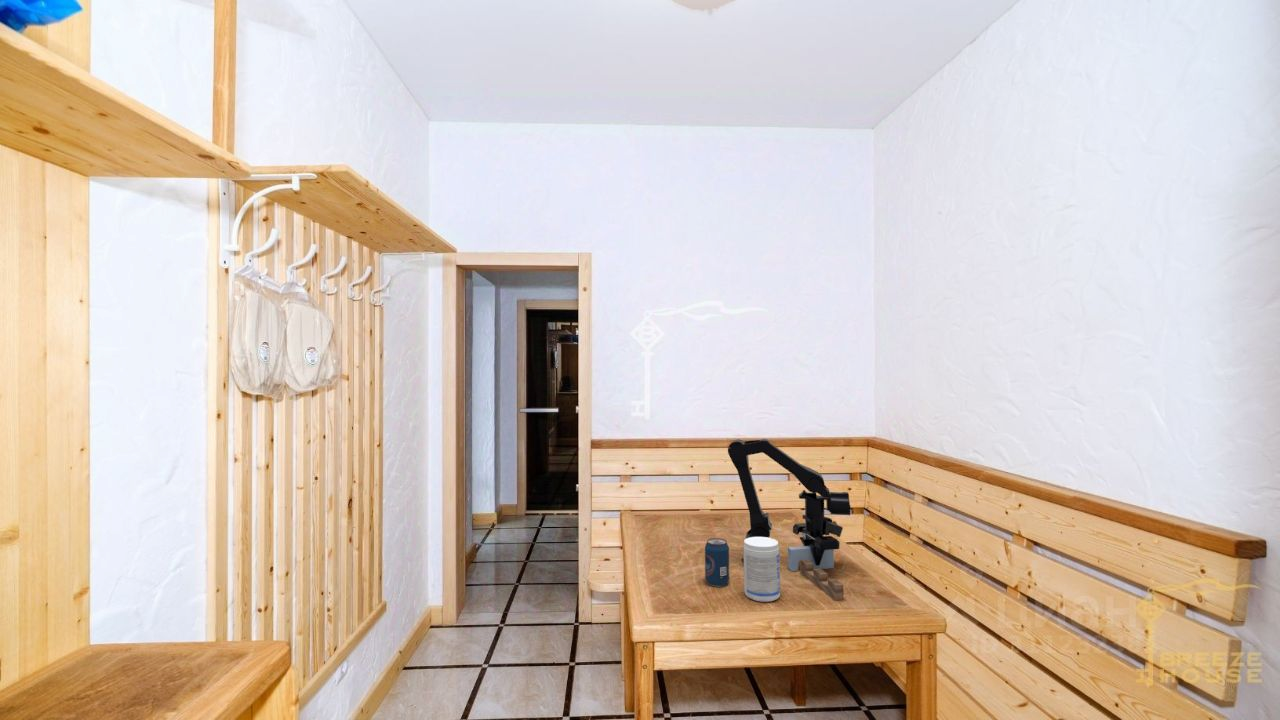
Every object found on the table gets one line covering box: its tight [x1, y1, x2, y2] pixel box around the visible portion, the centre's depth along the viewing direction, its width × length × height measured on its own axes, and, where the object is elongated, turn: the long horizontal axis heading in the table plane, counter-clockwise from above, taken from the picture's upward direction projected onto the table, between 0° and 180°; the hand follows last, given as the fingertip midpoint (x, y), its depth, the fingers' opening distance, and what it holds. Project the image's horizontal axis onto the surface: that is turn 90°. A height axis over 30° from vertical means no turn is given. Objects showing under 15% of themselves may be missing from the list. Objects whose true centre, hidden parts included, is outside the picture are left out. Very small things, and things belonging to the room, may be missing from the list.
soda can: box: [704, 537, 730, 588], centre depth 157 cm, size 7×7×12 cm
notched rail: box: [799, 559, 845, 601], centre depth 154 cm, size 20×2×4 cm, turn 11°
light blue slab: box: [787, 545, 835, 572], centre depth 168 cm, size 14×2×6 cm, turn 101°
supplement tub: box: [743, 537, 781, 603], centre depth 148 cm, size 10×10×15 cm
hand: (815, 563), depth 168 cm, fingers closed on light blue slab, 2 cm apart
